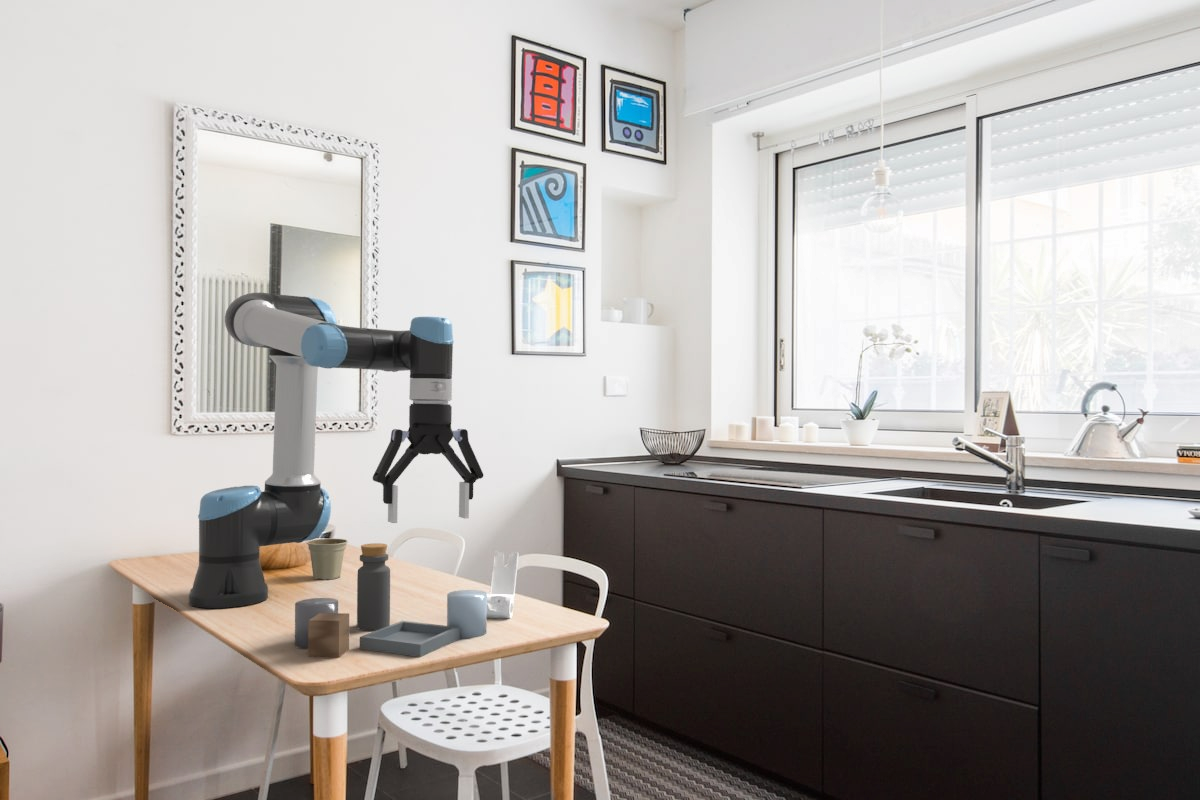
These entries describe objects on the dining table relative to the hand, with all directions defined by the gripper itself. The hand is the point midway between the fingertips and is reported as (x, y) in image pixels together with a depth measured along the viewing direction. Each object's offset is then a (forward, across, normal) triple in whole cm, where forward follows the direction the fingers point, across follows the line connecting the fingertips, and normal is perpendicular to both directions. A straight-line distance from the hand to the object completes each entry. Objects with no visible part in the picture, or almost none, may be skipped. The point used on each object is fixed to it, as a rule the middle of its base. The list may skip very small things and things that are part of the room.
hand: (428, 520), depth 156 cm
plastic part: (+20, +16, +6) cm, 27 cm away
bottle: (+20, -7, +8) cm, 23 cm away
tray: (+20, -6, -7) cm, 22 cm away
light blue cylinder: (+20, +5, -5) cm, 21 cm away
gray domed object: (+20, -19, +2) cm, 28 cm away
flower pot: (+21, -2, +59) cm, 63 cm away
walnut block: (+20, -19, -5) cm, 28 cm away
